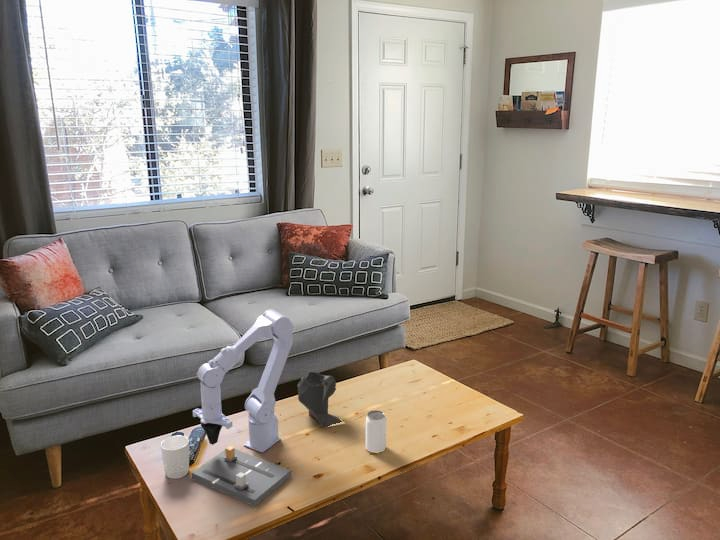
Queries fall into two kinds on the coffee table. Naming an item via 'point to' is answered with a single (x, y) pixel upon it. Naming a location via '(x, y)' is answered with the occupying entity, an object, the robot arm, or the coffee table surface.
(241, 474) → the fader tab grey
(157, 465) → the coffee table surface
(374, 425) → the can
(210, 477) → the console board
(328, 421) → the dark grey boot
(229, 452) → the fader tab orange
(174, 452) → the white cup
